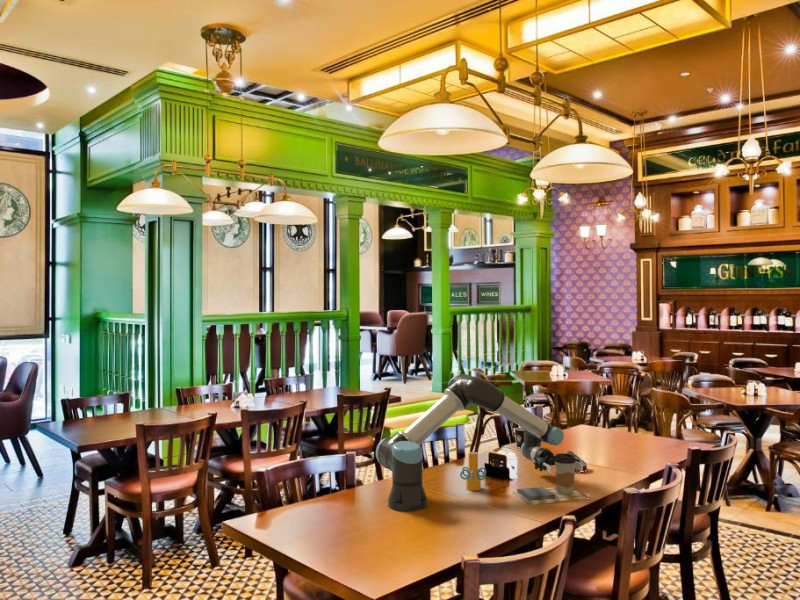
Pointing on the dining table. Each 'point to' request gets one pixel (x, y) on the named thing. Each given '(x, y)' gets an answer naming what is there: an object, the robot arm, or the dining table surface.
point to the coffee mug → (519, 436)
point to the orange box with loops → (473, 473)
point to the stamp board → (546, 495)
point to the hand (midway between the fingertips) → (566, 469)
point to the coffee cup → (565, 473)
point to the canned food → (580, 461)
